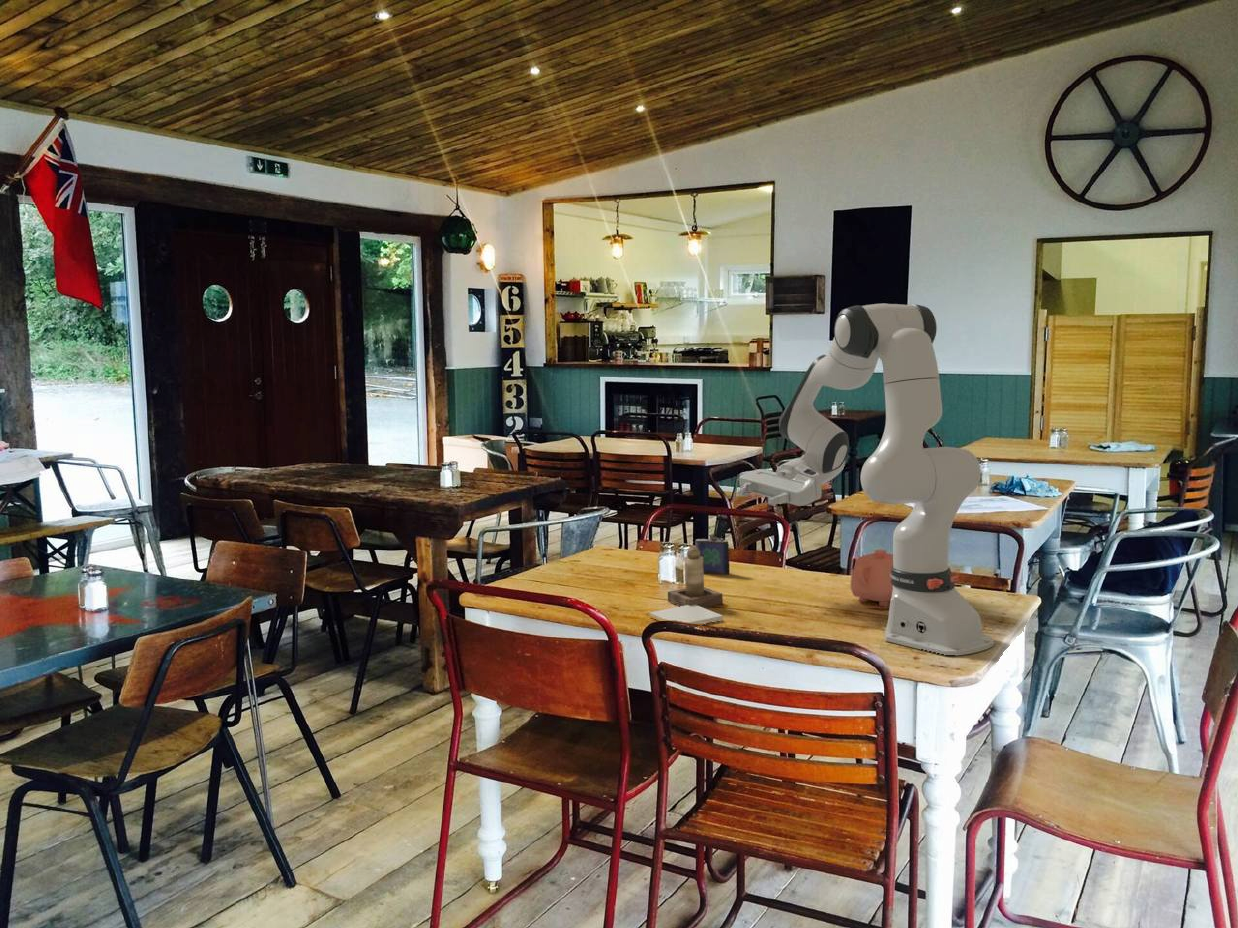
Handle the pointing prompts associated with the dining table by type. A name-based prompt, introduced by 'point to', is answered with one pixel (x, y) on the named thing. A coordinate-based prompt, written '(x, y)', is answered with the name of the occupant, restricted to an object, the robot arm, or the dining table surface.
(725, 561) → the flask
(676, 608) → the board
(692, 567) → the mill
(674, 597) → the holder
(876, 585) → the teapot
